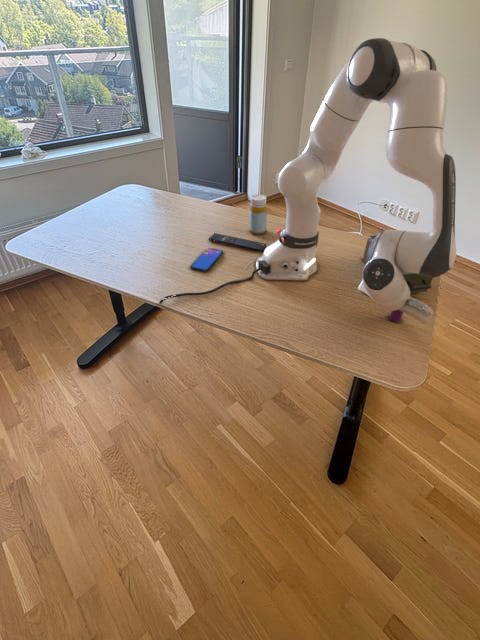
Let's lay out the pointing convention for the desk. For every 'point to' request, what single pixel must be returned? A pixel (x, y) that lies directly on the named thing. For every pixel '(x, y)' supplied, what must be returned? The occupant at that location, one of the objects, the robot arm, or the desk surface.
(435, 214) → the robot arm
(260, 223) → the bottle
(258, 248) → the remote control
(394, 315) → the glue stick
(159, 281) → the desk surface
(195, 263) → the smartphone
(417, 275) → the drawer
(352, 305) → the desk surface
